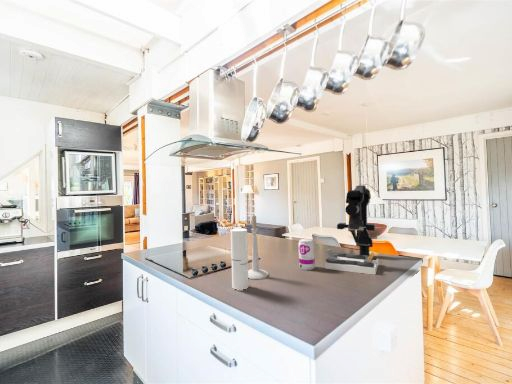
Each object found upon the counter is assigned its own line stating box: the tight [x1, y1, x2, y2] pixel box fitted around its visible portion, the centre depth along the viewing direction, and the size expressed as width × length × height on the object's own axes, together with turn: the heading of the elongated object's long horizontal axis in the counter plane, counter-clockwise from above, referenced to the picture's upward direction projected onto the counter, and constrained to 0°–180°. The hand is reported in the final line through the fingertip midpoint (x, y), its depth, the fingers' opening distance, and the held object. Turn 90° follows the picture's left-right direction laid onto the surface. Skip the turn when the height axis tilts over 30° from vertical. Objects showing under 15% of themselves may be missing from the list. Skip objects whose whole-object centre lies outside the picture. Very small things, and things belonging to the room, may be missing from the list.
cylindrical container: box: [230, 228, 249, 291], centre depth 113 cm, size 7×7×25 cm
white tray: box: [324, 254, 379, 275], centre depth 138 cm, size 18×24×5 cm
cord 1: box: [325, 258, 374, 267], centre depth 132 cm, size 3×24×2 cm, turn 61°
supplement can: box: [298, 238, 316, 271], centre depth 138 cm, size 8×8×15 cm
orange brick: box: [367, 252, 375, 260], centre depth 134 cm, size 4×2×5 cm
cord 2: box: [333, 252, 378, 260], centre depth 145 cm, size 3×24×2 cm, turn 60°
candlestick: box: [248, 215, 270, 280], centre depth 129 cm, size 13×13×30 cm
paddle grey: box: [326, 248, 335, 257], centre depth 144 cm, size 4×2×5 cm, turn 150°
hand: (356, 242), depth 139 cm, fingers closed
